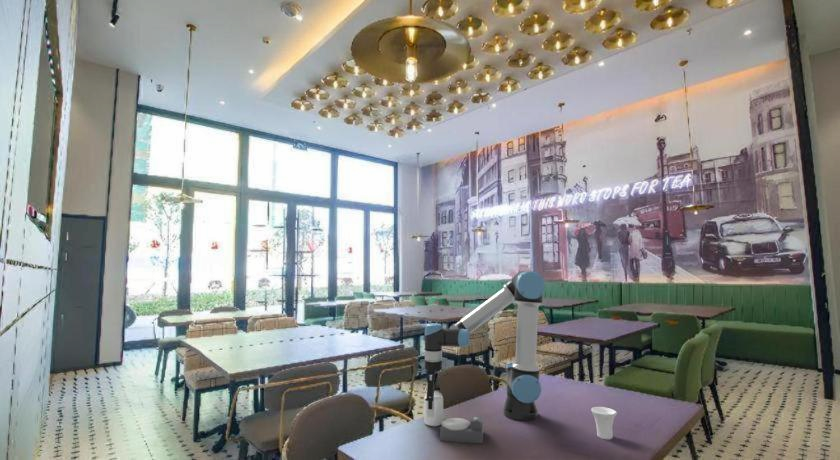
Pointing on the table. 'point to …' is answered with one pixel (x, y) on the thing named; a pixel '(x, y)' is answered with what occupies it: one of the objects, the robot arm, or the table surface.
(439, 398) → the beverage can
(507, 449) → the table surface
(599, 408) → the cup
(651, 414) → the table surface
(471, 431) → the grey hot plate stirrer
